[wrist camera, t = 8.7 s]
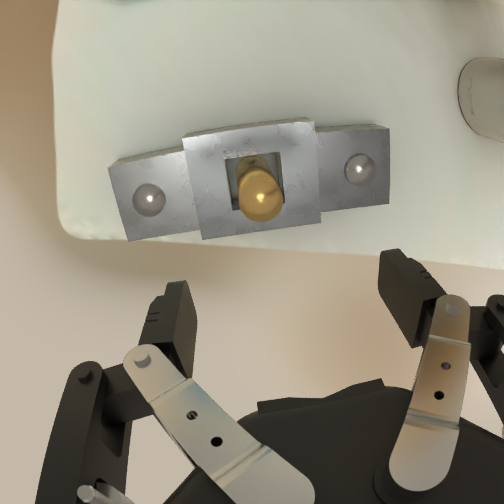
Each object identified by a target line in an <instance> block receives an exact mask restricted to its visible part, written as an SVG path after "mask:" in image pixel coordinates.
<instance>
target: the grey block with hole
mask: <svg viewBox="0 0 504 504" xmlns="http://www.w3.org/2000/svg"><path fill="white" fill-rule="evenodd" d="M182 141H183V146H179V147H174V148H169V149H164V150H159V151H155V152H150V153H145V154H141V155H137V156H132V157H128V158H124V159H120V160H118V161H116V162H115V163H113V164H112V165H111V166H109V167H108V171H109V175H110V179H111V183H112V187H113V191H114V194H115V198H116V201H117V205H118V209H119V212H120V215H121V219H122V222H123V225H124V229H125V232H126V235H127V238H128V241H135V240H140V239H146V238H152V237H158V236H164V235H170V234H176V233H182V232H189V231H195V230H201V235H202V240H205V239H212V238H218V237H225V236H232V235H238V234H245V233H252V232H258V231H265V230H272V229H279V228H286V227H293V226H300V225H307V224H315V223H321V218H320V212H326V211H334V210H341V209H349V208H357V207H366V206H374V205H382V204H389V191H390V136H389V128H386V127H382V126H379V125H376V124H367V125H346V126H330V127H317V128H314V121H313V120H310V119H308V118H295V119H285V120H276V121H267V122H259V123H251V124H243V125H236V126H230V127H223V128H217V129H211V130H205V131H199V132H194V133H189V134H186V135H185V136H184V137H183V138H182ZM272 152H276V160H277V169H278V178H279V187H280V190H281V192H282V195H283V206H282V209H281V211H280V212H279V214H278V215H277V216H276V217H275V218H273V219H271V220H269V221H266V222H255V221H252V220H250V219H248V218H247V217H246V216H245V215H244V214H243V213H242V211H241V209H240V206H239V198H237V199H232V196H231V190H230V184H229V178H228V172H227V165H226V159H229V158H236V157H242V156H249V155H257V154H264V153H272Z"/></svg>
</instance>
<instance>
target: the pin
mask: <svg viewBox="0 0 504 504" xmlns="http://www.w3.org/2000/svg"><path fill="white" fill-rule="evenodd" d="M236 175H237V186H238V197H239V206H240V209H241V211H242V213H243V214H244V215H245V216H246V217H247V218H248V219H250V220H252V221H255V222H266V221H269V220H271V219H273V218H275V217H276V216H277V215H278V214H279V212H280V211H281V209H282V206H283V195H282V192H281V190H280V188H279V186H278V184H277V182H276V180H275V178H274V176H273V174H272V172H271V170H270V168H269V166H268V164H267V163H266V162H265V161H264V160H263V159H262V158H260V157H256V156H250V157H247V158H245V159H243V160H242V161H241V162H240V163H239V164H238V166H237V170H236Z"/></svg>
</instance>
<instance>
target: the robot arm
mask: <svg viewBox="0 0 504 504" xmlns="http://www.w3.org/2000/svg"><path fill="white" fill-rule="evenodd" d="M458 94H459V103H460V107H461V111H462V113H463V115H464V118H465V120H466V121H467V123H468V125H469V126H470V127H471V128H472V129H473V130H474V131H475V132H477V133H478V134H480V135H483V136H486V137H489V138H492V139H494V140H497V141H500V142H502V143H504V59H491V58H476V59H474V60H471V61H470V62H469V63H468V64H467V65H466V66H465V68H464V69H463V71H462V74H461V76H460V80H459V90H458ZM378 290H379V294H380V296H381V298H382V299H383V301H384V302H385V304H386V306H387V308H388V309H389V311H390V312H391V314H392V316H393V317H394V319H395V320H396V322H397V324H398V326H399V328H400V329H401V331H402V333H403V334H404V336H405V338H406V340H407V341H408V343H409V345H410V346H411V348H415V347H419V346H422V347H423V353H422V356H421V360H420V363H419V366H418V370H417V374H416V376H415V380H414V383H413V386H412V389H411V391H410V390H407V389H404V388H399V387H390V386H384V383H383V381H382V379H381V378H380V379H376V380H372V381H368V382H364V383H359V384H355V385H352V386H349V387H347V388H345V389H343V390H341V391H339V392H336V393H334V394H332V395H330V396H327V397H325V398H292V397H288V398H281V399H275V400H267V401H260V402H257V407H258V411H256V412H253V413H251V414H249V415H247V416H245V417H243V418H241V419H240V420H238V421H237V422H236V421H235V420H233V418H231V417H230V416H229V415H228V414H227V413H226V412H225V411H224V410H223V409H222V408H221V407H220V406H219V405H218V404H217V403H216V402H215V401H214V400H213V399H212V398H211V397H210V396H209V395H208V394H207V393H206V392H205V391H204V390H203V389H202V388H201V387H200V386H199V385H198V384H197V383H196V382H195V381H194V380H193V379H192V373H193V362H194V351H195V342H196V331H197V315H196V310H195V307H194V303H193V300H192V297H191V293H190V290H189V286H188V283H187V281H186V280H184V281H176V282H169V283H168V284H167V286H166V290H165V294H164V295H163V296H157V297H156V298H155V300H154V301H153V302H152V303H151V304H150V307H149V310H148V313H147V314H148V315H147V317H146V320H145V321H146V322H145V323H144V327H143V330H142V333H141V337H140V340H139V344H138V346H137V347H135V348H133V349H132V350H130V351H129V352H128V353H127V354H126V356H125V357H124V360H123V363H122V364H119V365H116V366H113V367H110V368H106V369H102V367H101V366H100V364H98V363H97V362H94V361H87V362H83V363H81V364H79V365H77V366H76V367H75V368H74V369H73V370H72V371H71V373H70V375H69V377H68V380H67V383H66V386H65V389H64V392H63V395H62V398H61V401H60V405H59V408H58V411H57V414H56V418H55V421H54V425H53V428H52V432H51V435H50V439H49V443H48V447H47V451H46V455H45V459H44V463H43V467H42V472H41V476H40V481H39V485H38V490H37V495H36V501H35V504H134V503H133V501H132V500H130V499H129V498H128V497H126V496H125V486H126V475H127V465H128V455H129V446H130V436H131V429H132V421H133V420H136V419H139V418H143V417H146V416H150V415H154V417H155V418H156V419H157V421H158V422H159V423H160V425H161V426H162V427H163V429H164V430H165V431H166V432H167V434H168V435H169V436H170V438H171V439H172V440H173V441H174V443H175V444H176V445H177V446H178V448H179V449H180V450H181V452H182V453H183V454H184V456H185V457H186V458H187V459H188V460H189V462H190V463H191V464H192V465H193V466H194V468H195V469H194V470H193V471H192V472H191V473H190V474H189V476H188V477H187V478H186V479H185V480H184V481H183V482H182V483H181V485H180V486H179V487H178V488H177V489H176V490H175V491H174V492H173V493H172V494H171V496H170V497H169V498H168V499H167V500H166V501H165V502H164V503H163V504H504V354H503V353H502V351H501V348H502V346H503V345H504V295H492V296H490V297H489V298H488V301H487V303H486V306H477V307H476V306H474V307H473V306H472V307H471V306H470V305H469V304H468V302H467V301H466V300H464V299H463V298H461V297H459V296H456V295H448V294H446V292H445V291H444V290H443V288H442V287H441V286H440V285H439V284H438V283H437V281H436V280H435V279H434V278H433V277H432V276H431V274H430V273H429V272H427V270H426V269H425V268H424V267H423V265H422V264H421V263H419V262H417V261H416V260H414V259H412V258H407V257H406V256H405V255H404V253H403V252H402V251H401V250H400V249H398V248H397V249H391V250H385V251H382V252H381V254H380V262H379V275H378ZM469 361H470V362H471V364H472V366H473V367H474V369H475V371H476V373H477V375H478V376H479V378H480V380H481V382H482V384H483V386H484V387H485V389H486V391H487V393H488V395H489V397H490V399H491V401H492V403H493V404H494V407H495V409H496V411H497V413H498V414H499V417H500V418H501V421H502V423H503V428H502V437H503V438H501V437H499V436H497V435H495V434H493V433H491V432H489V431H487V430H485V429H483V428H481V427H479V426H477V425H475V424H473V423H471V422H469V421H468V420H466V419H464V418H462V417H460V414H461V409H462V404H463V398H464V392H465V386H466V381H467V374H468V367H469Z"/></svg>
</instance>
